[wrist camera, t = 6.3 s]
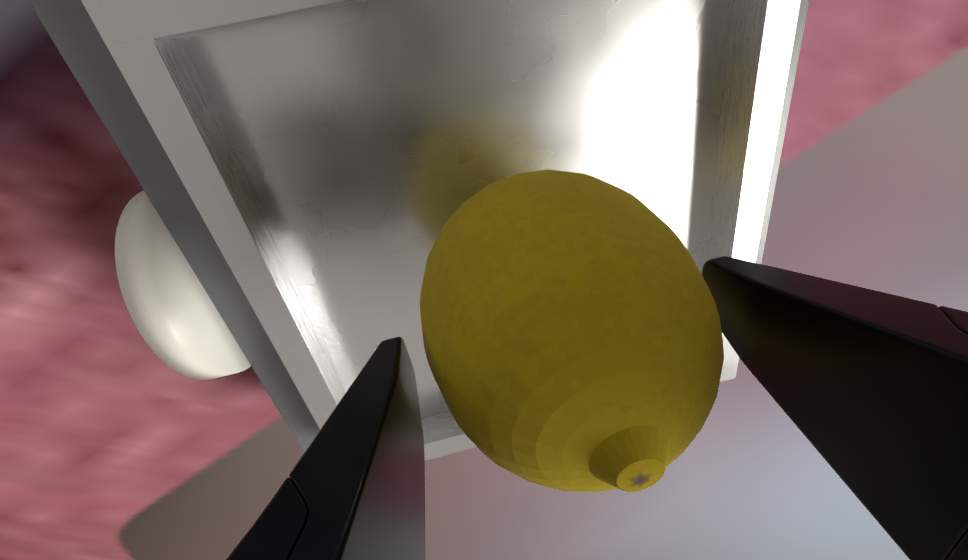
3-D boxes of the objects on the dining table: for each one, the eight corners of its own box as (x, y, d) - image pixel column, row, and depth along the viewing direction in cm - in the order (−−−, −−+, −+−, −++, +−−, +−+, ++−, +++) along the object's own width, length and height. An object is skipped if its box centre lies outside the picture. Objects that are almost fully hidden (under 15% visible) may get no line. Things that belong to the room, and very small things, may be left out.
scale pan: (753, -119, 10) (826, -149, 8) (702, 343, 17) (735, 377, 16) (137, 2, 9) (78, -4, 8) (353, 434, 17) (348, 480, 15)
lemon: (379, 180, 11) (349, 426, 4) (582, 100, 11) (876, 228, 4) (456, 335, 14) (508, 626, 7) (618, 273, 14) (824, 514, 7)
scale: (727, -137, 13) (939, -243, 8) (689, 298, 21) (782, 383, 16) (78, -12, 12) (-157, -40, 7) (304, 396, 20) (273, 520, 15)
